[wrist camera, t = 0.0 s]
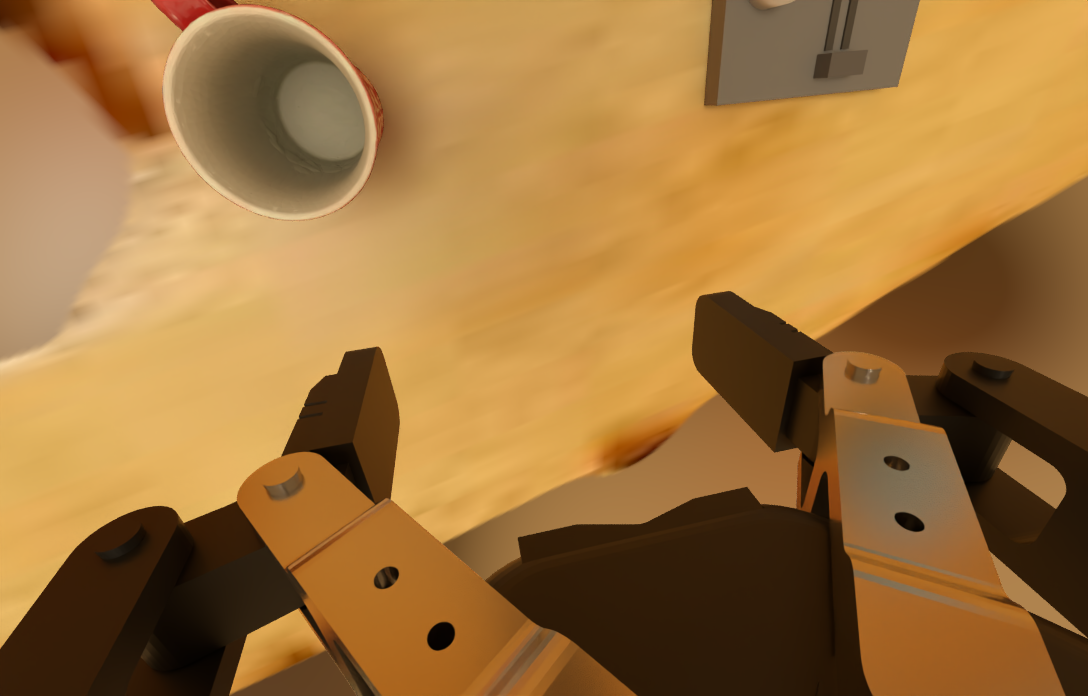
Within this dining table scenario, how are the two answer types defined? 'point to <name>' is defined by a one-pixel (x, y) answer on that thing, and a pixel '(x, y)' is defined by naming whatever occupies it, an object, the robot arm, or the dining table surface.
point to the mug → (268, 109)
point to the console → (805, 47)
